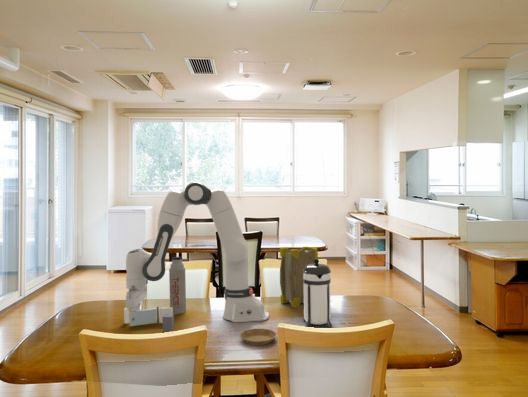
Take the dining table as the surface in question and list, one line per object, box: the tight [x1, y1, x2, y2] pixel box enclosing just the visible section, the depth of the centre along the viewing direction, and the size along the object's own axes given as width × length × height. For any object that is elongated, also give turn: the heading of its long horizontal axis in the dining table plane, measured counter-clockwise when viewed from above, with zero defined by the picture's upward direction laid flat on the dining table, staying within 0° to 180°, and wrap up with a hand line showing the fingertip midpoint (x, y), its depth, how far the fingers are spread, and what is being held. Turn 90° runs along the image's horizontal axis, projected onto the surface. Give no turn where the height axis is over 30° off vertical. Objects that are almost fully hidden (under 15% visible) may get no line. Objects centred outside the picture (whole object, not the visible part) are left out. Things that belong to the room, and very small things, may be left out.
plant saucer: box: [239, 328, 277, 346], centre depth 175 cm, size 15×15×3 cm
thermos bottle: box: [168, 256, 187, 315], centre depth 216 cm, size 8×8×28 cm
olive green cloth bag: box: [279, 246, 319, 308], centre depth 230 cm, size 20×11×30 cm, turn 125°
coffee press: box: [302, 258, 333, 328], centre depth 195 cm, size 17×16×30 cm
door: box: [129, 307, 158, 327], centre depth 196 cm, size 12×2×6 cm, turn 114°
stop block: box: [162, 314, 175, 333], centre depth 187 cm, size 4×4×7 cm
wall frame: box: [123, 306, 173, 324], centre depth 199 cm, size 22×1×8 cm, turn 89°
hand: (136, 312), depth 200 cm, fingers closed
